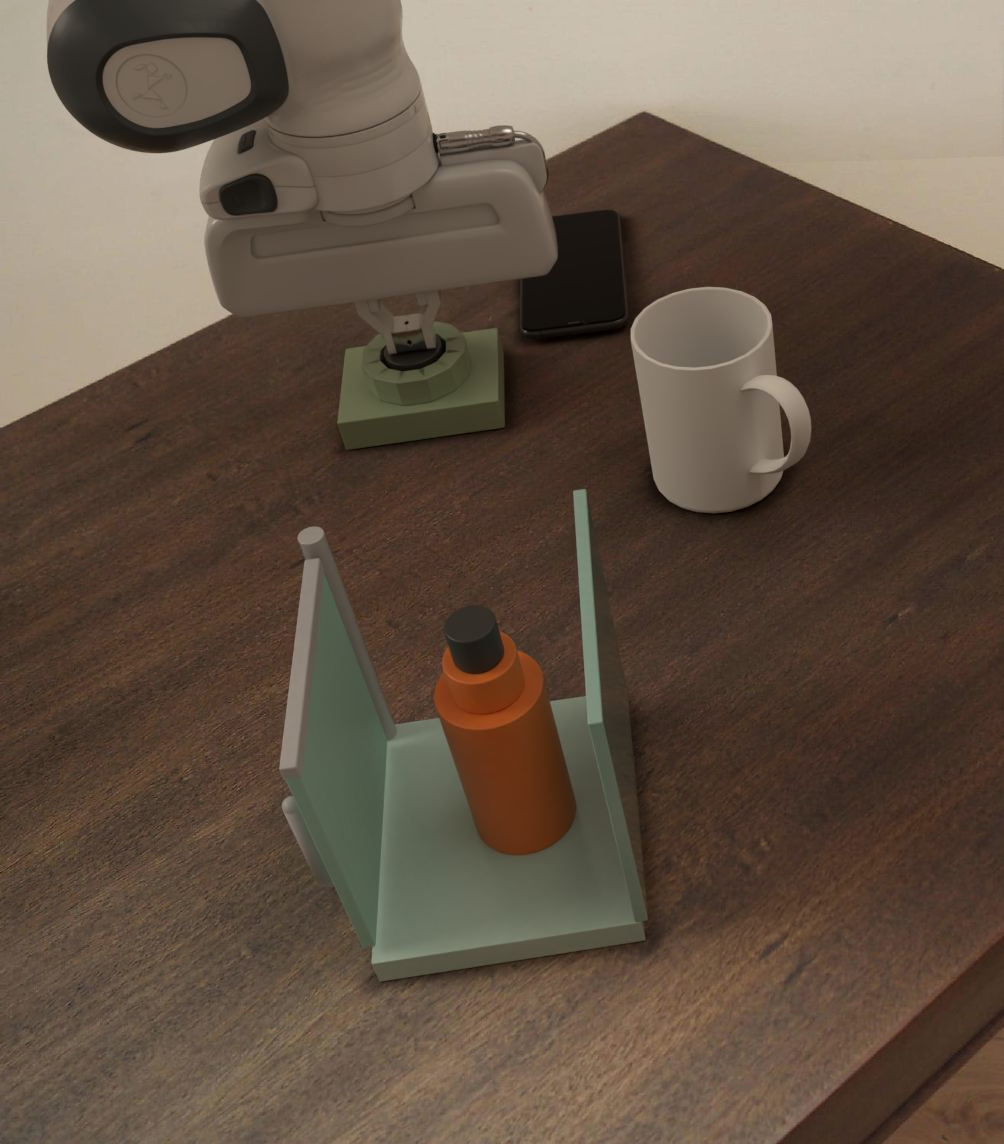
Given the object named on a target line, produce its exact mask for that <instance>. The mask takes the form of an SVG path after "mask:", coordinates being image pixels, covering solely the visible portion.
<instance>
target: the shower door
mask: <svg viewBox="0 0 1004 1144" xmlns="http://www.w3.org/2000/svg"><path fill="white" fill-rule="evenodd" d="M303 563H304V564H303V569H302V577H301V578H302V579H301V585H300V586H301V587H300V594H299V603H298V611H297V619H296V627H295V635H294V644H293V650H292V651H293V652H292V659H291V660H292V661H291V669H290V677H289V686H288V694H287V701H286V702H287V703H286V708H285V709H286V711H285V716H284V717H285V718H284V726H283V734H282V743H281V751H280V759H279V768H278V769H279V772H280V774H281V777H282V778H283V780H284V781H283V782H286V784H287V786H288V789H289V791H290V793H291V795H289V796H287V797H286V798H284V799H283V801H282V803H281V809H282V812H283V814H284V816H285V818H286V820H287V823H288V825H289V827H290V828H291V831H292V834H293V835H294V838H295V840H296V842H297V844H298V847H299V848H300V851H301V852H302V854H303V856H304V859H305V861H306V863H307V864H308V868H309V869H310V871H311V873H312V876H313V878H314V880H315V882H316V884H317V885H318V886H320V887H323V888H326V887H329V886H332V884H333V887H334V889H335V891H336V893H337V895H338V897H339V900H340V902H341V904H342V906H343V908H344V911H345V912H346V915H347V917H348V920H349V922H350V923H351V925H352V929H353V930H354V932H355V934H356V936H357V939H358V941H359V944H360V945H361V947H362V949H366V948H372V947H374V946H375V945H376V930H377V913H378V896H379V878H380V861H381V844H382V826H383V809H384V792H385V774H386V757H387V738H386V736H385V733H384V730H383V728H382V725H381V722H380V720H379V717H378V714H377V712H376V709H375V706H374V704H373V701H372V698H371V696H370V693H369V691H368V688H367V685H366V683H365V680H364V677H363V675H362V672H361V669H360V667H359V664H358V661H357V659H356V656H355V653H354V651H353V648H352V646H351V643H350V640H349V638H348V635H347V632H346V630H345V627H344V624H343V622H342V619H341V616H340V614H339V611H338V608H337V606H336V603H335V601H334V598H333V595H332V593H331V590H330V587H329V585H328V582H327V579H326V577H325V574H324V568H323V566H322V563H321V560H320V559H319V558H316V559H309V560H305V559H304V562H303Z"/></svg>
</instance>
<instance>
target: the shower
mask: <svg viewBox="0 0 1004 1144" xmlns="http://www.w3.org/2000/svg"><path fill="white" fill-rule="evenodd" d="M588 497H589V496H588V491H587V489H586V488H581V489H574V490H573V492H572V498H573V500H572V501H573V513H574V528H575V529H574V531H575V546H576V561H577V576H578V579H577V580H578V592H579V594H578V595H579V610H580V625H581V626H580V627H581V640H582V642H581V643H582V656H583V657H582V658H583V672H584V687H585V688H584V689H585V695H582V696H577V697H576V696H575V697H569V698H562V699H556V700H555V699H554V700H550V704H551V708H552V711H553V715H554V719H555V723H556V727H557V731H558V734H559V738H560V742H561V746H562V750H563V754H564V758H565V761H566V765H567V769H568V773H569V777H570V781H571V785H572V788H573V792H574V796H575V800H576V814H575V818H574V821H573V823H572V825H571V827H570V828H569V830H568V831H567V833H566V834H565V835H564V836H563V837H562V838H561V839H560V840H559V841H557V842H556V843H555V844H553V845H551V846H550V847H548V848H546V849H544V850H541V851H539V852H535V853H531V854H526V855H510V854H505V853H501V852H498V851H496V850H494V849H492V848H491V847H489V846H488V845H487V844H485V842H484V841H483V840H482V839H481V837H480V836H479V834H478V832H477V829H476V826H475V823H474V820H473V817H472V814H471V811H470V808H469V805H468V802H467V799H466V796H465V793H464V790H463V787H462V784H461V781H460V779H459V776H458V773H457V770H456V767H455V764H454V761H453V758H452V755H451V752H450V749H449V746H448V743H447V740H446V737H445V734H444V731H443V728H442V725H441V722H440V719H439V717H434V718H428V719H421V720H416V721H415V720H414V721H408V722H400V723H396V722H395V720H394V717H393V714H392V711H391V708H390V706H389V704H388V701H387V698H386V696H385V692H384V690H383V687H382V684H381V683H380V682H381V681H380V680H379V676H378V673H377V671H376V668H375V665H374V663H373V660H372V657H371V655H370V652H369V649H368V646H367V644H366V641H365V638H364V635H363V633H362V631H361V628H360V624H359V622H358V619H357V616H356V613H355V612H354V608H353V606H352V603H351V600H350V597H349V595H348V592H347V589H346V588H345V584H344V581H343V579H342V575H341V573H340V570H339V568H338V566H337V565H338V564H337V562H336V560H335V557H334V555H333V552H332V549H331V545H330V543H329V541H328V537H327V535H326V532H325V530H324V529H323V528H322V527H320V526H317V525H316V526H308V527H306V528H303V529H302V530H301V531H300V532H299V533H298V535H297V537H296V539H297V542H298V545H299V548H300V550H301V553H302V556H303V557H304V561H305V560H309V559H316V558H319V559H320V560H321V563H322V566H323V568H324V574H325V577H326V579H327V582H328V585H329V587H330V590H331V593H332V595H333V598H334V601H335V603H336V606H337V608H338V611H339V614H340V616H341V619H342V622H343V624H344V627H345V630H346V632H347V635H348V638H349V640H350V643H351V646H352V648H353V651H354V653H355V656H356V659H357V661H358V664H359V667H360V669H361V672H362V675H363V677H364V680H365V683H366V685H367V688H368V691H369V693H370V696H371V698H372V701H373V704H374V706H375V709H376V712H377V714H378V717H379V720H380V722H381V725H382V728H383V730H384V733H385V736H386V738H387V757H386V774H385V792H384V809H383V826H382V844H381V861H380V878H379V896H378V913H377V930H376V945H375V946H374V947H371V962H370V964H371V966H372V968H373V970H374V973H375V975H376V977H377V979H378V981H379V982H380V983H381V982H388V981H394V980H399V979H400V980H401V979H407V978H414V977H419V976H420V977H421V976H426V975H431V974H432V975H433V974H439V973H446V972H452V971H459V970H464V969H465V970H466V969H470V968H477V967H478V968H479V967H484V966H491V965H497V964H503V963H510V962H516V961H523V960H528V959H535V958H542V957H547V956H555V955H561V954H567V953H568V954H569V953H574V952H581V951H587V950H593V949H600V948H607V947H612V946H619V945H626V944H631V943H637V942H644V941H646V938H647V937H646V926H645V922H646V921H648V919H649V914H648V904H647V894H646V893H647V892H646V881H645V871H644V859H643V858H644V857H643V849H642V837H641V826H640V815H639V803H638V791H637V781H636V771H635V759H634V747H633V746H634V745H633V736H632V724H631V715H630V713H631V712H630V704H629V703H630V702H629V692H628V686H627V680H626V675H625V671H624V666H623V661H622V656H621V650H620V647H619V641H618V637H617V633H616V628H615V622H614V618H613V612H612V607H611V603H610V599H609V594H608V593H609V592H608V588H607V584H606V579H605V574H604V568H603V564H602V560H601V555H600V549H599V545H598V540H597V536H596V530H595V526H594V521H593V516H592V510H591V506H590V502H589V498H588Z"/></svg>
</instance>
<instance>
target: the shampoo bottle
mask: <svg viewBox="0 0 1004 1144" xmlns="http://www.w3.org/2000/svg"><path fill="white" fill-rule="evenodd" d="M443 633H444V637H445V640H446V643H447V645H448V646H447V648H446V650H445V651H444V653H443V655H442V660H441V665H442V666H441V667H442V669H443V670H442V671H443V673H442V674H441V675H440V676H439V678H438V680H437V682H436V684H435V687H434V691H433V703H434V707H435V710H436V712H437V716H438V718H439V719H440V722H441V725H442V728H443V731H444V734H445V737H446V740H447V743H448V746H449V749H450V752H451V755H452V758H453V761H454V764H455V767H456V770H457V773H458V776H459V779H460V781H461V784H462V787H463V790H464V793H465V796H466V799H467V802H468V805H469V808H470V811H471V814H472V817H473V820H474V823H475V826H476V829H477V832H478V834H479V836H480V837H481V839H482V840H483V841H484V842H485V844H487V845H488V846H489V847H491V848H492V849H494V850H496V851H498V852H501V853H505V854H510V855H526V854H531V853H535V852H539V851H541V850H544V849H546V848H548V847H550V846H551V845H553V844H555V843H556V842H557V841H559V840H560V839H561V838H562V837H563V836H564V835H565V834H566V833H567V831H568V830H569V828H570V827H571V825H572V823H573V821H574V818H575V814H576V800H575V796H574V792H573V788H572V785H571V781H570V777H569V773H568V769H567V765H566V761H565V758H564V754H563V750H562V746H561V742H560V738H559V734H558V731H557V727H556V723H555V719H554V715H553V711H552V708H551V704H550V701H551V699H550V695H549V693H548V688H547V684H546V680H545V677H544V674H543V671H542V668H541V666H540V665H539V664H538V662H537V661H536V660H535V659H534V658H532V656H530V655H529V654H528V653H525V652H523V651H521V650H518V649H517V645H516V643H515V641H514V640H513V639H512V637H510V635H508V634H506V633H504V632H502V631H500V628H499V624H498V621H497V617H496V615H495V613H494V611H492V610H491V609H490V608H488V607H487V606H483V605H478V604H472V605H471V604H469V605H466V606H461V607H460V608H458V609H456V610H454V611H453V612H451V613H450V614H449V615H448V616H447V618H446V619H445V621H444V625H443Z"/></svg>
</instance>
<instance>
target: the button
mask: <svg viewBox="0 0 1004 1144" xmlns="http://www.w3.org/2000/svg"><path fill="white" fill-rule="evenodd" d="M443 354H444V352H443V348H442V344H441V341H440V339H439V338H438V337H437V336H436V348H432V349H425V350H417V351H411V352H405V353H399V354H398V353H397V354H391V355H390V354H389V353H388V350H387V347H385V350H384V357H385V360H386V363H387V367H388V369H393V370H398V371H410V370H417V369H422V368H424V367H426V366H428V365H431V364H433V363H435V362H437V361H438V360H439V358H440V357H441V356H442V355H443Z"/></svg>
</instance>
